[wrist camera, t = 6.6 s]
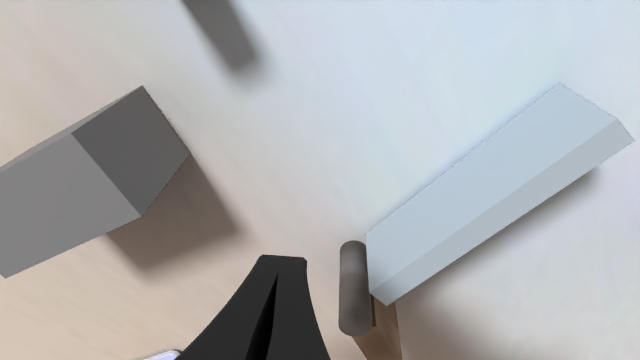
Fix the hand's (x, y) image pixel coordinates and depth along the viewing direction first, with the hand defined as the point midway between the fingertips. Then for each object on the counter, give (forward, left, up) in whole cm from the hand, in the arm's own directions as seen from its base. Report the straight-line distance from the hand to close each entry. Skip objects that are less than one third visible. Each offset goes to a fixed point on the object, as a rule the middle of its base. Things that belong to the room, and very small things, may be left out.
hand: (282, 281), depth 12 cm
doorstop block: (+4, +10, -10) cm, 15 cm away
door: (-5, -6, -10) cm, 13 cm away
